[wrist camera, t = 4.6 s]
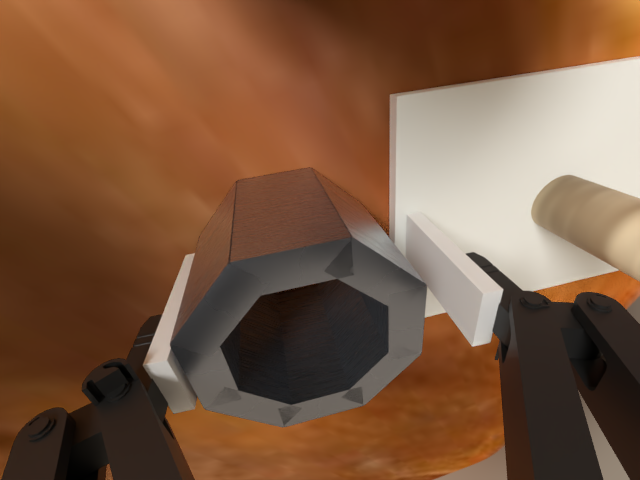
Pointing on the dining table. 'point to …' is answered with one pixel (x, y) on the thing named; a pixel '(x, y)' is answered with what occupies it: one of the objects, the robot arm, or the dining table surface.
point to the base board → (513, 162)
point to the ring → (296, 303)
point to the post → (592, 220)
